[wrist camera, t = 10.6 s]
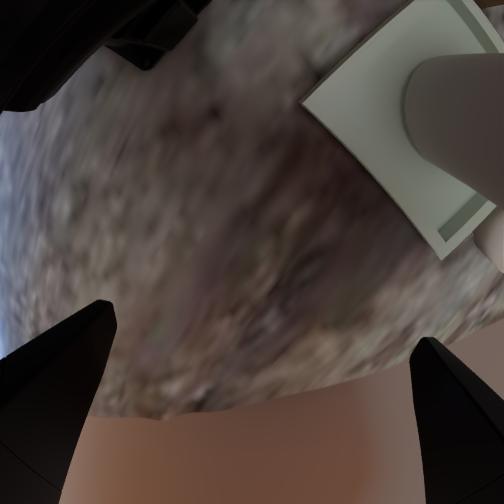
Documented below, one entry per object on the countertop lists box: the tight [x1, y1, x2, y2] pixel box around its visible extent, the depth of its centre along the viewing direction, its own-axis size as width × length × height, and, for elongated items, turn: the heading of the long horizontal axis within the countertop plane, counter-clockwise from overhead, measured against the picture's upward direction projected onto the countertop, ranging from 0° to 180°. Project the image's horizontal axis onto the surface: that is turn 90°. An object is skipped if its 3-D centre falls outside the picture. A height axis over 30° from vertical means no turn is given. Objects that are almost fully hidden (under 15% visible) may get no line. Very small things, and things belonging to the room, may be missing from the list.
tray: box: [298, 0, 504, 261], centre depth 15 cm, size 14×14×2 cm
